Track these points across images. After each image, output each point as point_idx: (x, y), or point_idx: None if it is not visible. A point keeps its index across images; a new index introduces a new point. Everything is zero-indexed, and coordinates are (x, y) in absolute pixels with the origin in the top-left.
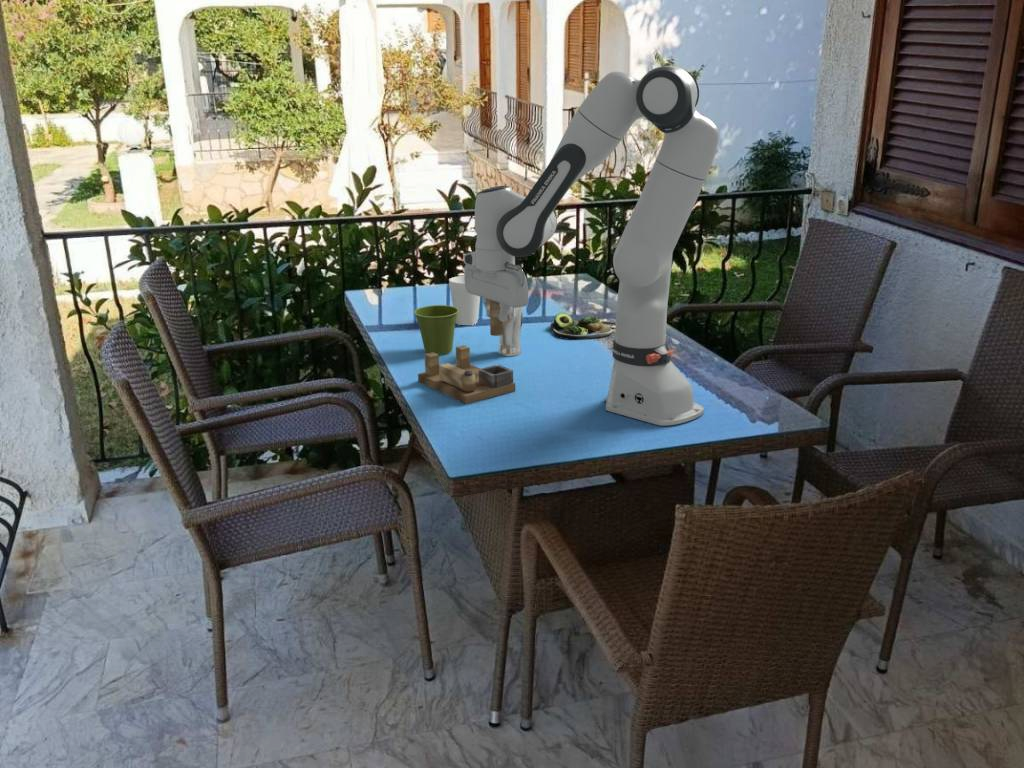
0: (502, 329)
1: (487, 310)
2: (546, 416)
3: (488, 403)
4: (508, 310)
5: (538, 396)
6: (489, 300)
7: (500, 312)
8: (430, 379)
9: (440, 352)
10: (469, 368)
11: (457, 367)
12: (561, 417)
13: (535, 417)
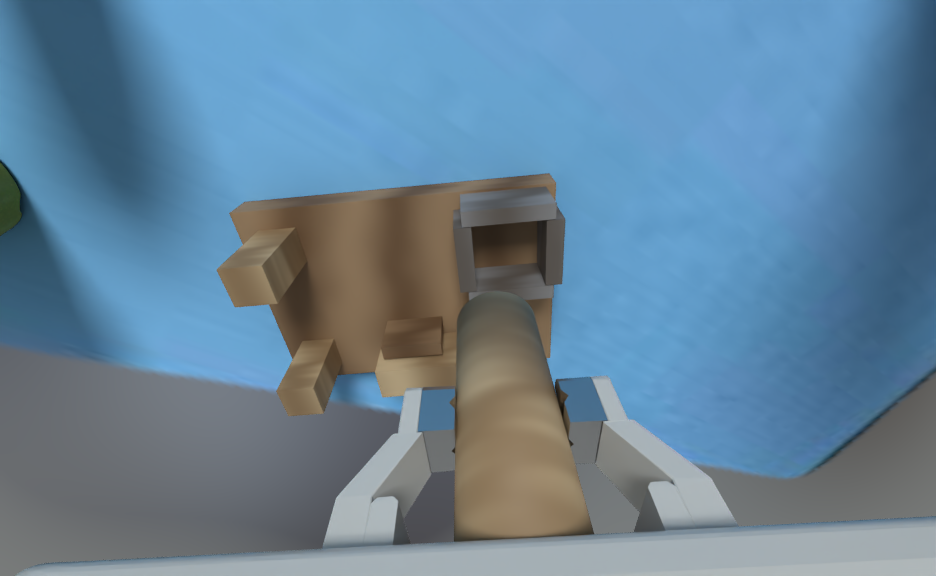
0: (536, 329)
1: (428, 468)
2: (788, 217)
3: (577, 294)
4: (661, 444)
5: (648, 132)
6: (406, 538)
7: (618, 478)
8: (366, 371)
9: (14, 202)
10: (312, 237)
11: (438, 368)
12: (838, 183)
13: (763, 247)
